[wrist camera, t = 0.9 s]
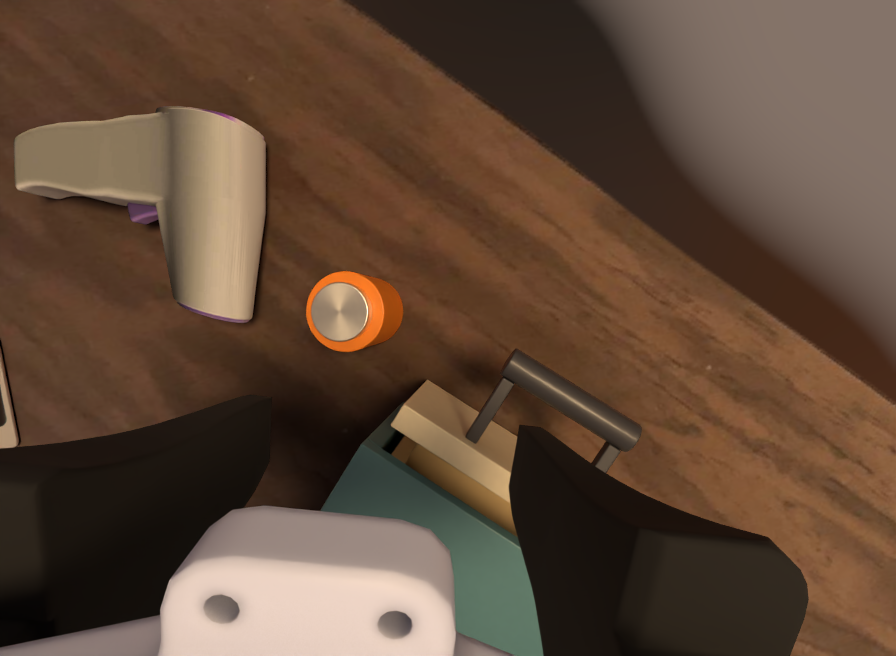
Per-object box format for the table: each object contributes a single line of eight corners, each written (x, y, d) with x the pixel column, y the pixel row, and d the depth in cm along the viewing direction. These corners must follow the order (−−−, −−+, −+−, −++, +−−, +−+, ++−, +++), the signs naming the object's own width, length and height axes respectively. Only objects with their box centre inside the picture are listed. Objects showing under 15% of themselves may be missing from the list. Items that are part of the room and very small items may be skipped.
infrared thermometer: (73, 139, 31) (275, 127, 28) (77, 317, 31) (276, 322, 29) (-6, 109, 26) (227, 92, 23) (0, 319, 27) (229, 324, 24)
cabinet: (403, 401, 28) (361, 443, 19) (591, 522, 27) (637, 624, 18) (296, 574, 29) (211, 687, 21) (473, 695, 28) (463, 868, 20)
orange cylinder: (415, 300, 28) (395, 297, 22) (381, 357, 28) (353, 369, 23) (359, 264, 28) (325, 254, 22) (325, 321, 28) (284, 325, 23)
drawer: (468, 312, 26) (459, 313, 20) (652, 426, 26) (711, 470, 19) (323, 546, 28) (266, 624, 21) (492, 661, 27) (491, 781, 20)
